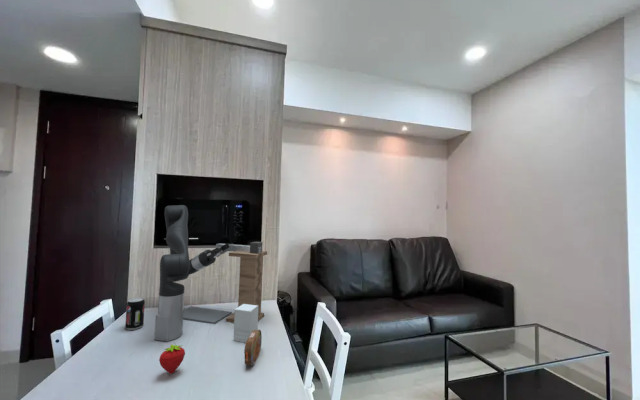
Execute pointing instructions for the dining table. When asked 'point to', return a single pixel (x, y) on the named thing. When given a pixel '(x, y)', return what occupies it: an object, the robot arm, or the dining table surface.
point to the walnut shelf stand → (249, 280)
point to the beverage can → (135, 313)
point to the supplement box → (245, 321)
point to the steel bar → (244, 247)
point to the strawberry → (172, 358)
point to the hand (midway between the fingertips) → (230, 244)
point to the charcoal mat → (204, 314)
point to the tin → (252, 347)
